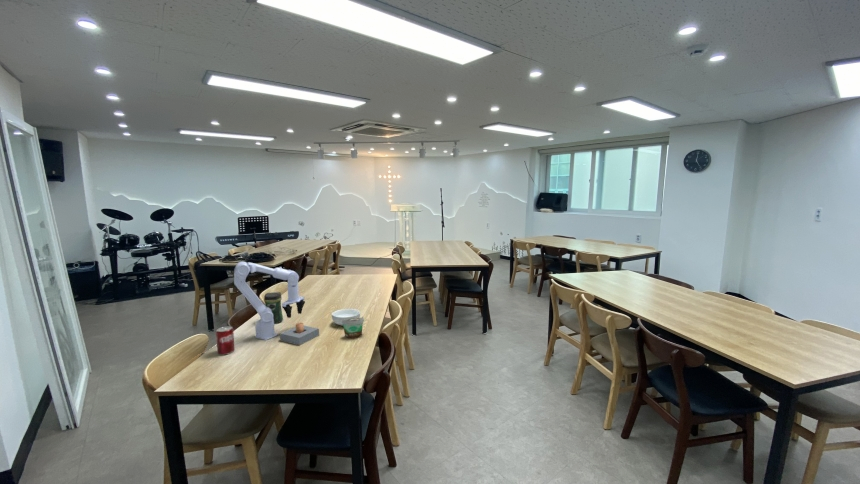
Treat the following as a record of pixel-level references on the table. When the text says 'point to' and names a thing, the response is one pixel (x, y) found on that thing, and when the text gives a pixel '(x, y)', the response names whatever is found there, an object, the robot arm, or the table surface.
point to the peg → (299, 328)
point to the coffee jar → (274, 305)
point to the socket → (299, 335)
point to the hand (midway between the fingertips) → (294, 315)
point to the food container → (353, 327)
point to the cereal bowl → (345, 315)
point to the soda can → (225, 340)
